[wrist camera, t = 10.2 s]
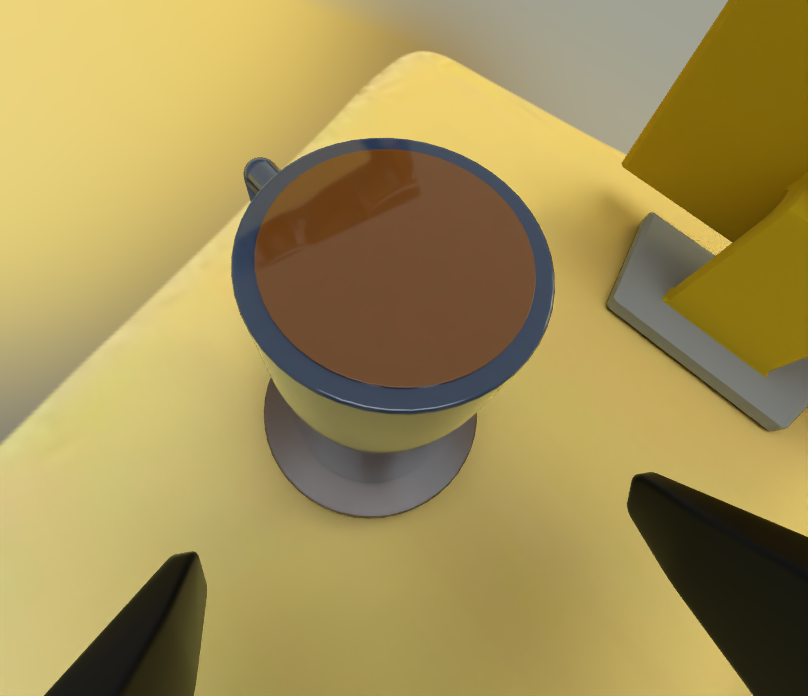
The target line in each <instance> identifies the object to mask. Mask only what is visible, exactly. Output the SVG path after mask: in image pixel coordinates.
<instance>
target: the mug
mask: <svg viewBox="0 0 808 696" xmlns="http://www.w3.org/2000/svg"><path fill="white" fill-rule="evenodd" d="M244 180H245V183H246V187H247V190H248V193H249V197H250V200H251V203H250V204H249V206H248V208H247V210H246V212H245V214H244V216H243V218H242V219H241V222H240V225H239V228H238V231H237V234H236V236H235V240H234V246H233V251H232V260H231V277H232V284H233V290H234V296H235V299H236V302H237V305H238V309H239V312H240V315H241V317H242V319H243V321H244V323H245V325H246V327H247V329H248V331H249V333H250V335H251V337H252V339H253V341H254V343H255V345H256V347H257V349H258V351H259V353H260V355H261V357H262V359H263V361H264V363H265V365H266V367H267V369H268V371H269V373H270V376H271V378H272V380H273V382H274V384H275V386H276V388H277V390H278V392H279V394H280V396H281V398H282V400H283V402H284V404H285V406H286V408H287V410H288V412H289V414H290V416H291V418H292V420H293V422H294V424H295V426H296V428H297V430H298V432H299V434H300V436H301V438H302V440H303V442H304V444H305V446H306V448H307V449H308V450H309V452H310V453H311V455H312V456H313V457H314V458H315V459H316V460H317V461H318V462H319V463H320V464H321V465H322V466H324V467H325V468H326V469H328V470H329V471H331V472H333V473H334V474H336V475H338V476H340V477H343V478H345V479H348V480H352V481H355V482H362V483H382V482H389V481H393V480H396V479H399V478H402V477H404V476H406V475H408V474H410V473H412V472H413V471H415V470H417V469H418V468H419V467H421V466H422V465H423V464H424V463H425V462H426V461H427V460H428V459H429V458H431V457H432V456H433V455H434V454H435V453H436V452H437V451H438V450H439V449H440V448H441V447H442V446H443V445H444V444H445V443H446V442H447V441H448V440H449V439H450V438H451V437H452V436H453V435H454V434H455V433H456V432H457V431H458V430H459V429H460V428H461V427H462V426H463V425H464V424H465V423H466V422H467V421H468V420H469V419H470V418H471V417H472V416H473V415H474V414H475V413H476V412H477V411H478V410H479V409H480V408H481V407H482V406H483V405H484V404H485V403H487V402H488V401H489V400H490V399H491V398H492V397H493V396H494V395H495V394H496V393H497V392H498V391H499V390H500V389H501V388H502V387H503V386H504V385H505V384H506V383H507V382H508V381H509V380H510V379H511V378H512V377H513V376H514V375H515V374H516V373H517V372H518V371H519V370H520V369H521V368H522V367H523V365H524V364H525V363H526V362H527V361H528V360H529V359H530V357H531V356H532V354H533V353H534V351H535V350H536V348H537V347H538V345H539V344H540V342H541V340H542V337H543V335H544V333H545V331H546V329H547V327H548V323H549V320H550V316H551V313H552V309H553V301H554V294H555V283H554V269H553V263H552V257H551V254H550V251H549V247H548V244H547V241H546V239H545V236H544V234H543V232H542V230H541V228H540V226H539V224H538V222H537V221H536V219H535V217H534V216H533V214H532V213H531V211H530V210H529V208H528V207H527V206H526V205H525V203H524V202H523V201H522V200H521V198H520V197H519V196H518V195H517V194H516V193H515V192H514V191H513V190H512V189H511V188H510V187H509V186H508V185H507V184H506V183H505V182H503V181H502V180H501V179H500V178H498V177H497V176H496V175H494V174H493V173H492V172H490V171H489V170H487V169H486V168H484V167H483V166H481V165H479V164H478V163H476V162H474V161H472V160H470V159H468V158H466V157H464V156H462V155H460V154H458V153H455V152H453V151H450V150H448V149H445V148H442V147H439V146H435V145H432V144H428V143H424V142H418V141H413V140H407V139H396V138H368V139H359V140H351V141H347V142H342V143H337V144H334V145H330V146H327V147H324V148H321V149H318V150H316V151H314V152H312V153H309V154H307V155H305V156H303V157H301V158H299V159H298V160H296V161H294V162H293V163H291V164H289V165H288V166H286V167H285V168H283V169H282V170H280V169H279V168H278V167H277V166H276V165H275V163H273V162H272V161H271V160H269V159H266V158H262V157H261V158H254V159H252V160H251V161H250V162H248V163H247V165H246V167H245V169H244Z"/></svg>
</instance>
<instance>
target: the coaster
mask: <svg viewBox="0 0 808 696" xmlns="http://www.w3.org/2000/svg"><path fill="white" fill-rule="evenodd" d="M476 422H477V412H476V413H475V414H474V415H473V416H472V417H471V418H470V419H469V420H468V421H467V422H466V423H465V424H464V425H463V426H462V427H461V428H460V429H459V430H458V431H457V432H456V433H455V434H454V435H453V436H452V437H451V438H450V439H449V440H448V441H447V442H446V443H445V444H444V445H443V446H442V447H441V448H440V449H439V450H438V451H437V452H436V453H435V454H434V455H433V456H432V457H431V458H429V459H428V460H427V461H426V462H425V463H424V464H423V465H422V466H421V467H419V468H418V469H417V470H415V471H413V472H412V473H410V474H408V475H406V476H404V477H402V478H399V479H396V480H393V481H389V482H382V483H362V482H355V481H352V480H348V479H345V478H343V477H340V476H338V475H336V474H334V473H333V472H331V471H329V470H328V469H326V468H325V467H324V466H322V465H321V464H320V463H319V462H318V461H317V460H316V459H315V458H314V457H313V456H312V455H311V453H310V452H309V450H308V449H307V448H306V446H305V444H304V442H303V440H302V438H301V436H300V434H299V432H298V430H297V428H296V426H295V424H294V422H293V420H292V418H291V416H290V414H289V412H288V410H287V408H286V406H285V404H284V402H283V400H282V398H281V396H280V394H279V392H278V390H277V388H276V386H275V384H274V382H273V380H272V378H271V379H270V381H269V384H268V388H267V392H266V397H265V405H264V423H265V431H266V436H267V440H268V444H269V446H270V449H271V452H272V455H273V457H274V459H275V461H276V462H277V464H278V466H279V468H280V469H281V471H282V472H283V473H284V475H285V476H286V478H287V479H288V480H289V481H290V482H291V483H292V484H293V485H294V486H295V487H296V488H297V489H298V490H299V491H300V492H301V493H302V494H303V495H305V496H306V497H307V498H309V499H310V500H311V501H313V502H315V503H316V504H318V505H320V506H322V507H323V508H325V509H328V510H331V511H333V512H336V513H338V514H342V515H347V516H351V517H358V518H383V517H388V516H393V515H398V514H401V513H404V512H407V511H410V510H412V509H414V508H416V507H418V506H420V505H422V504H424V503H426V502H428V501H429V500H430V499H432V498H433V497H435V496H436V495H438V494H439V493H440V492H441V491H442V490H443V489H444V488H445V487H446V486H448V485H449V484H450V482H451V481H452V480H453V479H454V477H455V476H456V475H457V474H458V472H459V471H460V469H461V467H462V466H463V464H464V463H465V461H466V459H467V456H468V454H469V452H470V449H471V446H472V443H473V439H474V436H475V429H476Z"/></svg>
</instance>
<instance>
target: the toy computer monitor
mask: <svg viewBox="0 0 808 696" xmlns="http://www.w3.org/2000/svg"><path fill="white" fill-rule="evenodd" d="M622 166H623V167H624V168H625V169H627V170H628V171H629V172H631V173H632V174H634V175H635V176H637V177H638V178H640V179H641V180H643V181H644V182H645V183H647V184H648V185H650V186H651V187H653V188H654V189H656V190H657V191H658V192H660V193H661V194H663V195H664V196H666V197H667V198H669V199H670V200H672V201H673V202H674V203H676V204H677V205H679V206H680V207H682V208H683V209H685V210H686V211H688V212H689V213H690V214H692V215H693V216H695V217H696V218H698V219H699V220H701V221H702V222H704V223H705V224H706V225H708V226H709V227H711V228H712V229H714V230H715V231H717V232H718V233H720V234H721V235H722V236H724V237H725V238H727V239H728V240H730V241H731V242H733V243H732V244H730V245H729V246H728V247H727V248H725V249H724V250H723V251H721V252H720V253H719V254H717V255H716V256H715V255H713V254H712V253H710V252H709V251H708V250H706V249H705V248H703V247H702V246H700V245H699V244H698V243H696V242H695V241H693V240H692V239H690V238H689V237H688V236H686V235H685V234H683V233H682V232H680V231H679V230H678V229H676V228H675V227H673V226H672V225H670V224H669V223H668V222H666V221H665V220H663V219H662V218H660V217H659V216H658V215H656V214H655V213H649V214H648V215H647V216H646V217H645V218H644V219H643V221H642V222H641V225H640V227H639V229H638V232H637V234H636V236H635V239H634V241H633V243H632V246H631V248H630V250H629V253H628V255H627V257H626V260H625V262H624V264H623V267H622V269H621V271H620V274H619V276H618V278H617V281H616V283H615V285H614V288H613V290H612V292H611V295H610V297H609V299H608V302H607V306H608V308H609V309H611V310H612V311H613V312H614V313H616V314H617V315H618V316H620V317H621V318H622V319H624V320H625V321H626V322H627V323H629V324H630V325H631V326H633V327H634V328H635V329H637V330H638V331H639V332H640V333H642V334H643V335H644V336H646V337H647V338H648V339H650V340H651V341H652V342H654V343H655V344H656V345H657V346H659V347H660V348H661V349H663V350H664V351H665V352H667V353H668V354H669V355H670V356H672V357H673V358H674V359H676V360H677V361H678V362H680V363H681V364H682V365H683V366H685V367H686V368H687V369H689V370H690V371H691V372H693V373H694V374H695V375H696V376H698V377H699V378H700V379H702V380H703V381H704V382H706V383H707V384H708V385H709V386H711V387H712V388H713V389H715V390H716V391H717V392H719V393H720V394H721V395H722V396H724V397H725V398H726V399H728V400H729V401H730V402H732V403H733V404H734V405H736V406H737V407H738V408H739V409H741V410H742V411H743V412H745V413H746V414H747V415H749V416H750V417H751V418H752V419H754V420H755V421H756V422H758V423H759V424H760V425H762V426H763V427H764V428H765V429H767V430H768V431H776V430H780V429H784V428H787V427H788V426H789V425H790V424H791V423H792V422H793V421H794V420H795V419H796V418H797V417H798V416H799V415H800V414H801V413H802V412H803V411H804V410H805V408H806V407H807V406H808V0H729V1H728V2H727V4H726V5H725V7H724V8H723V10H722V11H721V13H720V14H719V16H718V17H717V19H716V20H715V22H714V23H713V25H712V26H711V28H710V30H709V31H708V33H707V34H706V36H705V37H704V38H703V40H702V42H701V43H700V45H699V46H698V48H697V49H696V51H695V52H694V54H693V55H692V57H691V58H690V60H689V61H688V63H687V64H686V66H685V68H684V69H683V71H682V72H681V74H680V75H679V77H678V78H677V80H676V81H675V83H674V84H673V86H672V87H671V89H670V90H669V92H668V93H667V95H666V96H665V98H664V99H663V101H662V102H661V104H660V106H659V107H658V109H657V110H656V112H655V113H654V115H653V116H652V118H651V119H650V121H649V122H648V124H647V126H646V127H645V128H644V130H643V131H642V133H641V134H640V136H639V138H638V139H637V141H636V142H635V144H634V145H633V147H632V148H631V150H630V151H629V153H628V154H627V156H626V157H625V159H624V160H623V162H622Z"/></svg>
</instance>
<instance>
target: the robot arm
mask: <svg viewBox="0 0 808 696" xmlns="http://www.w3.org/2000/svg"><path fill="white" fill-rule="evenodd" d="M627 508H628V512H629V515H630V517H631V518H632V520H633V522H634V523H635V525H636V527H637V528H638V530H639V532H640V533H641V535H642V537H643V538H644V540H645V541H646V543H647V545H648V546H649V548H650V550H651V551H652V553H653V555H654V556H655V558H656V560H657V561H658V563H659V565H660V566H661V568H662V569H663V571H664V573H665V574H666V576H667V577H668V579H669V580H670V582H671V583H672V585H673V586H674V588H675V589H676V590H677V592H678V593H679V595H680V596H681V597H682V599H683V600H684V602H685V603H686V604H687V606H688V607H689V608H690V610H691V611H692V612H693V614H694V615H695V617H696V618H697V619H698V621H699V622H700V623H701V625H702V626H703V627H704V629H705V630H706V632H707V633H708V634H709V636H710V637H711V638H712V640H713V641H714V642H715V644H716V645H717V647H718V648H719V649H720V651H721V652H722V653H723V655H724V656H725V657H726V659H727V660H728V662H729V663H730V664H731V666H732V667H733V668H734V670H735V671H736V672H737V674H738V675H739V677H740V678H741V679H742V681H743V682H744V683H745V685H746V686H747V687H748V689H749V690H750V691H751V693H752V694H753V696H808V537H806V536H804V535H802V534H799V533H797V532H794V531H792V530H790V529H787V528H785V527H783V526H780V525H778V524H775V523H773V522H771V521H768V520H766V519H764V518H761V517H759V516H756V515H754V514H752V513H749V512H747V511H745V510H742V509H740V508H737V507H735V506H733V505H730V504H728V503H726V502H723V501H721V500H718V499H716V498H714V497H711V496H709V495H707V494H704V493H702V492H700V491H697V490H695V489H692V488H690V487H688V486H685V485H683V484H681V483H678V482H676V481H673V480H671V479H669V478H666V477H664V476H662V475H659V474H657V473H654V472H648V473H642V474H637V475H635V476H634V477H633V478H632V481H631V487H630V492H629V497H628V502H627ZM206 598H207V585H206V580H205V577H204V573H203V569H202V566H201V562H200V559H199V556H198V554H197V553H196V552H193V551H192V552H186V553H180V554H175V555H173V556H171V557H170V558H169V559H168V560H167V561H166V562H165V563H164V564H163V565H162V566H161V567H160V569H159V570H158V571H157V572H156V573H155V574H154V575H153V576H152V577H151V578H150V580H149V581H148V582H147V583H146V584H145V585H144V586H143V587H142V588H141V589H140V591H139V592H138V593H137V594H136V595H135V596H134V597H133V598H132V599H131V600H130V602H129V603H128V604H127V605H126V606H125V607H124V608H123V609H122V610H121V611H120V613H119V614H118V615H117V616H116V617H115V618H114V619H113V620H112V621H111V622H110V624H109V625H108V626H107V627H106V628H105V629H104V630H103V631H102V632H101V633H100V635H99V636H98V637H97V638H96V639H95V640H94V641H93V642H92V643H91V644H90V646H89V647H88V648H87V649H86V650H85V651H84V652H83V653H82V654H81V655H80V657H79V658H78V659H77V660H76V661H75V662H74V663H73V664H72V665H71V666H70V668H69V669H68V670H67V671H66V672H65V673H64V674H63V675H62V676H61V677H60V679H59V680H58V681H57V682H56V683H55V684H54V685H53V686H52V687H51V688H50V690H49V691H48V692H47V693H46V694H45V695H44V696H194V691H195V685H196V678H197V671H198V663H199V655H200V647H201V639H202V631H203V623H204V615H205V607H206Z"/></svg>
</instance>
